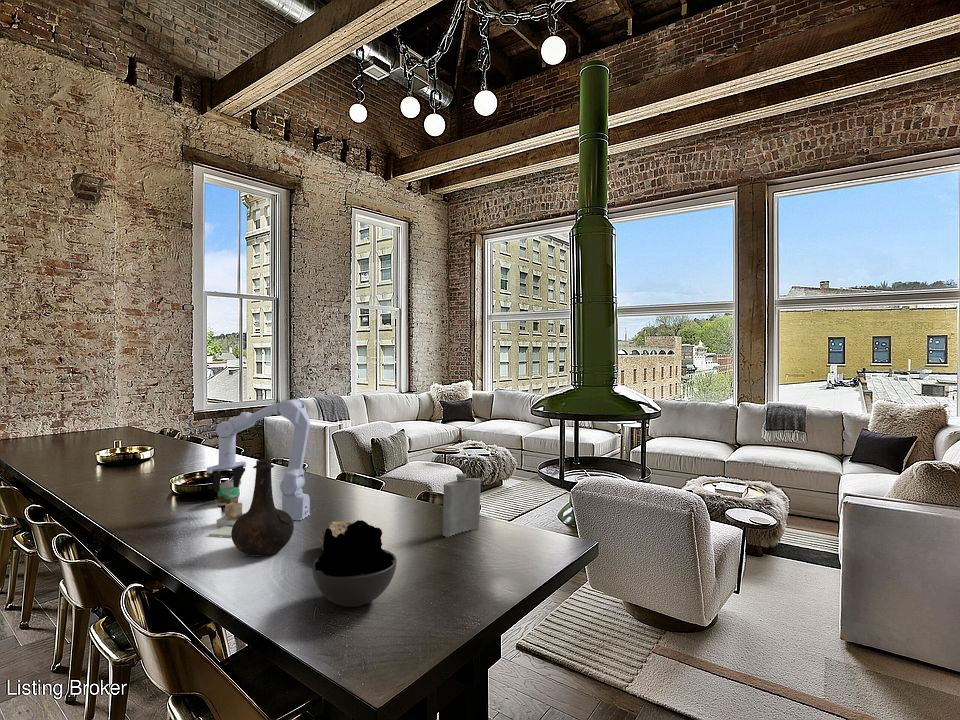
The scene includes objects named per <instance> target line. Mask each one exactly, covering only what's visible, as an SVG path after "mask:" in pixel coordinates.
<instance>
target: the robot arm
mask: <svg viewBox="0 0 960 720" xmlns="http://www.w3.org/2000/svg"><path fill="white" fill-rule="evenodd" d="M306 407H307V406H306V405H305V403H304V402H303V401H302V400H301V399H298V398H292V399H289V400H287V399H286V400H283V401H280V402H275V403H272V404H270V405H269V406H268V405H267V406H265V407H263V408H262V409H260V410H258V411H257V410H256V411H254V412H253V413H252V412H250V411H247V412H246V411H242V412H240V415H237V416H234V417H229V418H228V420H226V421H225V420H224V421H220V423H218V424H217V426H216V427H215V432H216V434H217V436H218V464H216V465H211V466H209V467H206V473H207V476H208V477H209V479H210V480H211V481H210V482H211V484H212V487H213V490H214V492H217V493H218V492H219V490H220V483H221V479H222V473H221V472H222V471H228V470H231V471H232V477H233V486H234V487H236V488H238V487H239V483H240V480H241V481H242V477H243V475H244V473H245V472H246V467H247V462H246V461H237V462H236V457H237V456H236V451H237V450H236V448H237V447H236V446H237V444H236V442H237V438H236V437H237V434H238V433H240V432H242V431H245V430H248V429H250V428H252V427H254V426H255V424H256V422H257V421H259V420H263V419H265V418H267V417H270V416H272V415H273V416H274V415H277V416H281V417H283V418H284V419H287V420H288V421H290V423H292V425H293V426H294V430H293V435H292V436H293V437H292V440H291V441H292V442H291V449H290V455H289V459H288V466H287V469H286V471H285V473H284V475H283V478H282V481H280V484H279V489H280V491H281V493H282V496H281V498H282V500H281V510H283V511H285V512H286V513H288V514H289V515H290V516H291V518H292V520H293V521H299V520H300V521H303V520H304V519H305V517H306V518H307V517H309V516H310V515H311V513H310V512H311V511H310V508H311V506H310V502H311V498H310V495H309V494H307V493H304V492H303V487H304V486H305V483H306V479H305V475H304V474H305V469H304V468H303V467H304V463H305V462H304V461H305V454H306V450H307V449H306V448H307V444H308V443H307V442H308V437H309V432H310V426H311V425H310V424H311V421H310V418H309V415H308V412H307V410H306V409H307V408H306ZM239 488H240V487H239ZM308 515H309V516H308ZM302 519H303V520H302Z"/></svg>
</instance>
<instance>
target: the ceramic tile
mask: <svg viewBox="0 0 960 720" xmlns="http://www.w3.org/2000/svg"><path fill="white" fill-rule="evenodd" d="M232 528H233V527H229V526H223V527H218V528H217V529H216V530H213V531H212V532H209V533H208V537H215V536H222V537H221V538H231V532H232Z"/></svg>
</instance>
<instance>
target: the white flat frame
mask: <svg viewBox="0 0 960 720" xmlns="http://www.w3.org/2000/svg"><path fill="white" fill-rule="evenodd" d="M245 513H246V512H245ZM245 513H244V512H242V515H243V514H245ZM236 520H237V519H225V515H224V516H222V517H220V518H218V519H216V524H215V525H216V526H215V527H216V528H221V527H223V526H229V527H233V525H234V523H235V522H236Z"/></svg>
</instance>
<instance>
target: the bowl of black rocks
mask: <svg viewBox="0 0 960 720" xmlns="http://www.w3.org/2000/svg"><path fill="white" fill-rule="evenodd" d="M352 523H353V524H350V525H348V526H347V530H346V531H345V532H344V534H342V533H340V534H338V536H337V537H334V536H333V535H332V530H331V529H329V528H327V529H326V531H325V530H324V531H325V534H324V541H323V549H324V550H322V551H323V552H322V554H320V556H319V557H317V558H316V559H315V560H314V561H313V563H312V565H311V570H312V577H313V580H314V583H315V585H316V587H317V588H318V590H319V592H320V593H321V594H322V595H323V597H324V598H326V599H327V600H328V601H330V602H332V603H334V604H335V605H339V606H343V607H351V608H352V607H359V606H364V605H367V604H368V603H370V602H371V603H372V602H373V601H374V600H376V599H377V598H379V596H381V595H382V594H383V593H384V592H385V590H386V589H388V587H389V586H390V584H391V582H392V579H394V575H395V572H396V569H397V563H398V560H397V559H398V558H397V557H396V555H395V554H394V553H392V552H391V551H390V550H386V549H383V548H382V545H383V543H382V535H383V531H382V529H381V528H380V527H376V526H373V525H370V524H368V523H367V521H364V520H363V519H362V520H361V519H360V520H355V521H353V522H352Z"/></svg>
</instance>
